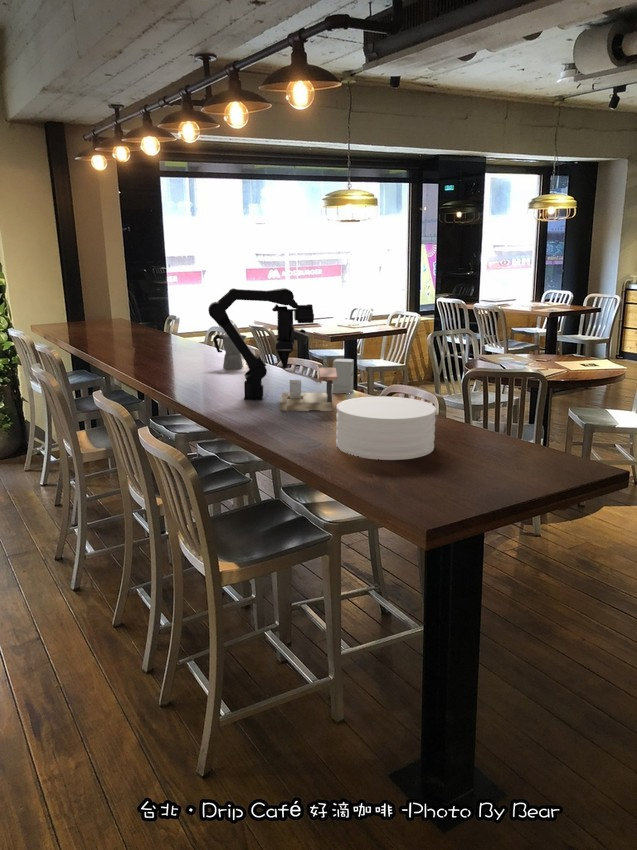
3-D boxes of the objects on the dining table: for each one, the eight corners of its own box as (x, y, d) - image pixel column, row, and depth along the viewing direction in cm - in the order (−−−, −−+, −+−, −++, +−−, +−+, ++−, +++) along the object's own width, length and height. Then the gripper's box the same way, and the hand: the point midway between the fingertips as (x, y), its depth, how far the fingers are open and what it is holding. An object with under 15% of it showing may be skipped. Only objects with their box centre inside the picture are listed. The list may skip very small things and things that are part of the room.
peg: (289, 406, 241) (289, 381, 238) (290, 404, 245) (290, 379, 242) (300, 407, 241) (300, 382, 238) (301, 404, 245) (301, 379, 242)
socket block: (280, 411, 234) (279, 376, 231) (282, 399, 251) (282, 367, 248) (336, 411, 234) (337, 376, 231) (335, 400, 251) (335, 367, 248)
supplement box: (350, 394, 262) (351, 361, 259) (331, 393, 263) (332, 361, 260) (353, 390, 269) (354, 358, 266) (335, 389, 270) (335, 358, 267)
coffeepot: (246, 365, 322) (245, 327, 317) (248, 369, 313) (247, 330, 308) (213, 366, 319) (211, 328, 314) (214, 370, 310) (213, 330, 305)
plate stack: (318, 440, 201) (318, 402, 198) (395, 428, 214) (397, 392, 211) (371, 466, 177) (372, 423, 174) (454, 451, 190) (456, 411, 188)
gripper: (307, 326, 240) (307, 370, 244) (307, 320, 258) (307, 361, 262) (275, 326, 240) (275, 370, 244) (278, 320, 258) (278, 361, 262)
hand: (285, 365), depth 253 cm, fingers open, 9 cm apart
